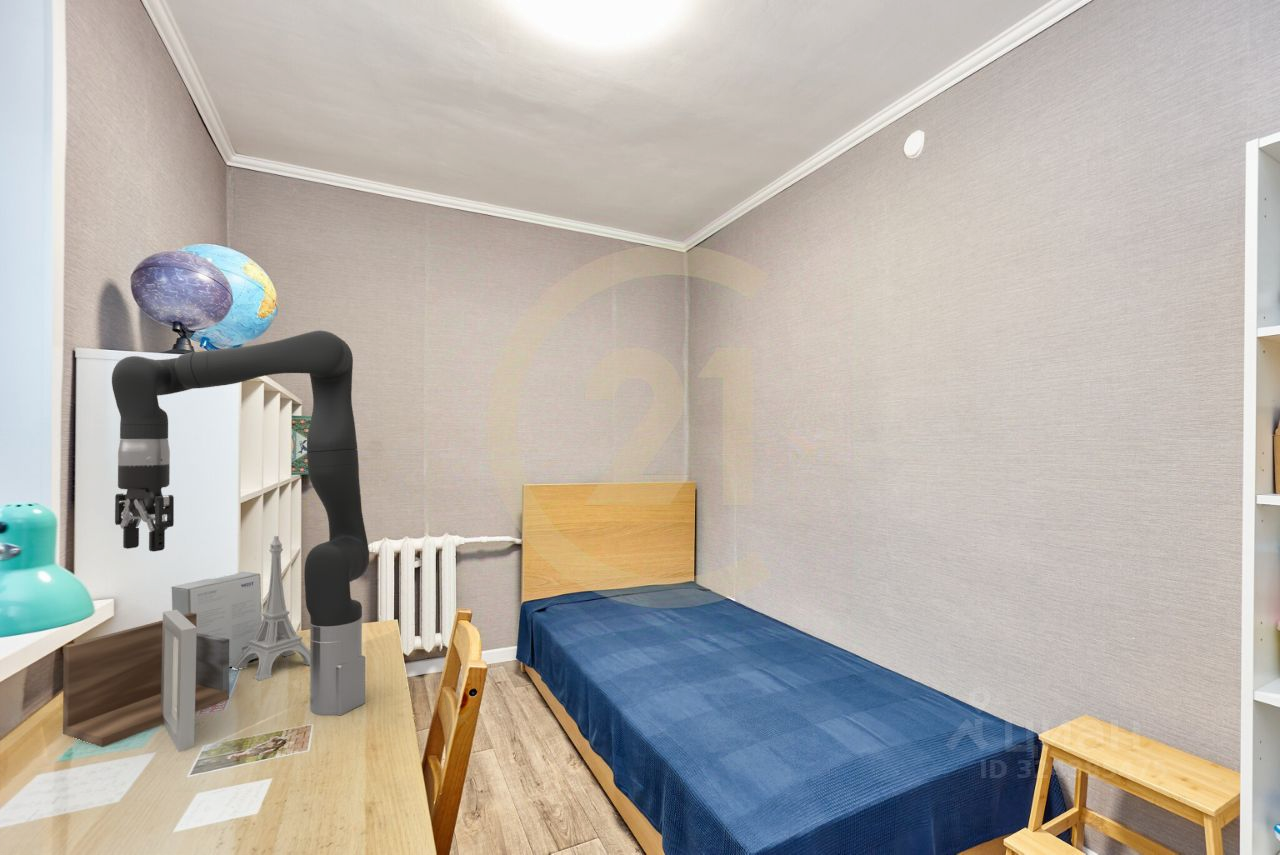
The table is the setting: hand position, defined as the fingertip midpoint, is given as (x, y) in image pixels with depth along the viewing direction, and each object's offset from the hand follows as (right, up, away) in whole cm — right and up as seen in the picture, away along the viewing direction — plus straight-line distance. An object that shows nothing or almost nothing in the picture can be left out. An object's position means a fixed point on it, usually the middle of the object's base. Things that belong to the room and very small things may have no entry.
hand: (143, 549), depth 112 cm
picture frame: (+11, -32, -6) cm, 35 cm away
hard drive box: (-3, -32, +24) cm, 40 cm away
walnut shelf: (+1, -32, 0) cm, 32 cm away
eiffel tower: (+9, -33, +25) cm, 42 cm away
